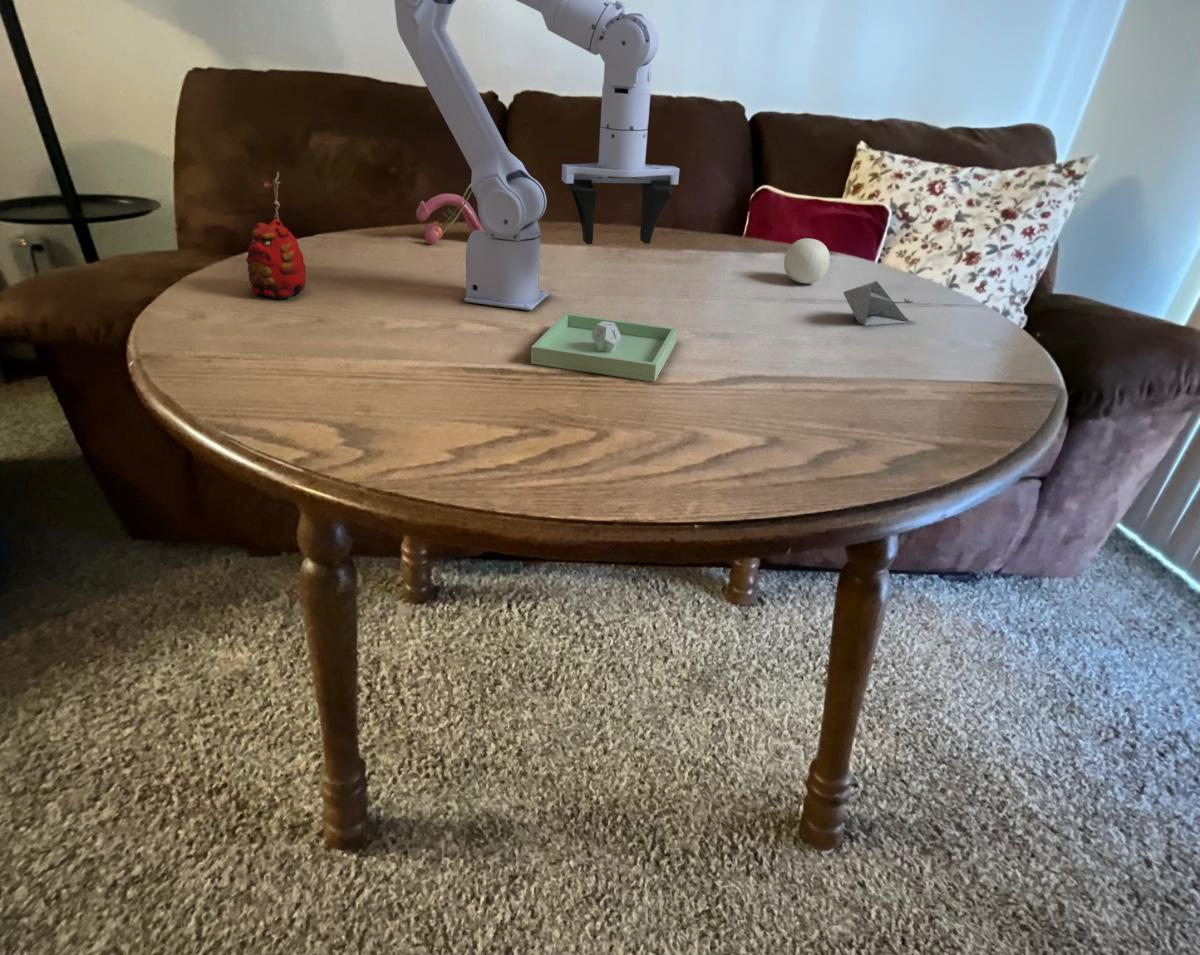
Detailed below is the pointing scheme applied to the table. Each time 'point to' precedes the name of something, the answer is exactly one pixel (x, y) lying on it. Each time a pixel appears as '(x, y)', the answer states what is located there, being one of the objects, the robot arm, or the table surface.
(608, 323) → the game die
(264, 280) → the red clay folk toy
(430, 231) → the anatomy model
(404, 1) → the robot arm
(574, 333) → the tray
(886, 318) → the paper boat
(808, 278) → the cream white ball
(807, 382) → the table surface
